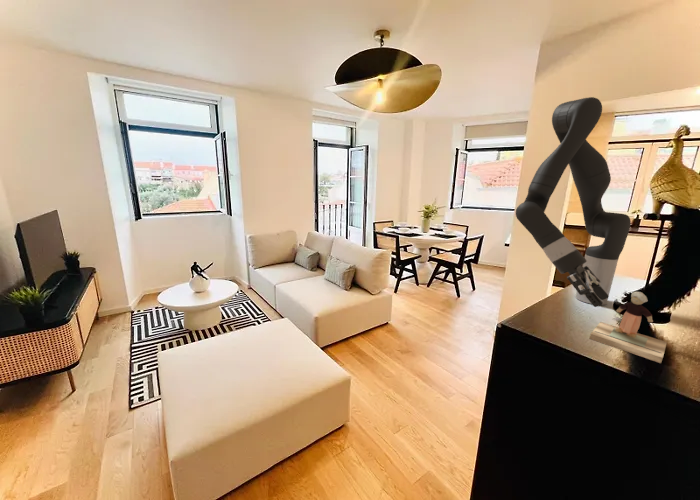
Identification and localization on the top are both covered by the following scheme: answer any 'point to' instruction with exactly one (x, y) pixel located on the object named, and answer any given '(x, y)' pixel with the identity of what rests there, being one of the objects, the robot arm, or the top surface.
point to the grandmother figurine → (633, 314)
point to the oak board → (630, 342)
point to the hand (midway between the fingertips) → (602, 301)
